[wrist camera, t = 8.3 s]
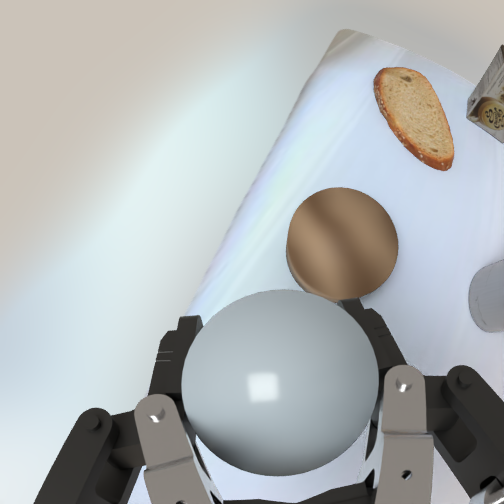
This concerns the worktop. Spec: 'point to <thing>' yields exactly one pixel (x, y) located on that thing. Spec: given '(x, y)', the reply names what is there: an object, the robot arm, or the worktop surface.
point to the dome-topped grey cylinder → (280, 382)
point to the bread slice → (415, 115)
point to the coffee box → (489, 99)
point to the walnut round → (341, 244)
